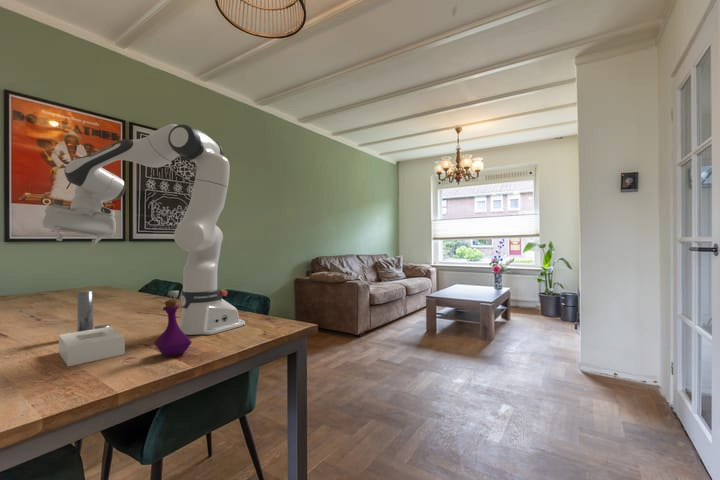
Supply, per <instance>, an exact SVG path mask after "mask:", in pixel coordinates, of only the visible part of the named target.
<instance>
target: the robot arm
mask: <svg viewBox="0 0 720 480" xmlns="http://www.w3.org/2000/svg"><path fill="white" fill-rule="evenodd" d="M179 156H181V157H183V158H185V159H187V160H189V161H190V162H192V163H195V166H196V173H195V177H194V182H193V187H192V192H191V197H190V201H189V203H188V206H187V208H186V210H185V212H184V215H183V217H182V220H181V221H180V223H179V225H177V226H176V228H175V229H174V232H173V240H174V241H175V244H176V245H177V246H178V247H179V248H181V249H182V250H184V251H186V252H188V255H187V258H186V263H185V264H184V267H183V271H182V273H183V274H182V277H183V278H182V279H183V281H182V282H183V285H182V287H183V289H182V291H181V297H180V299H181V301H180V302H181V307H182V308H181V317H180V322H179V325H178V326H179V328H180V329H181V330H182V332H183V333H184V334H185V335H186V336H188V335H190V336H191V335H194V336H195V335H215V334H218V333H222V332H225V331H229V330H234V329H235V328H240V327H244V326H245V325H246V322H245V320H243V319H241V318H240V315H239V312H238V309H237V308H236V307H235V306H234V305H232V304H231V303H229V302H228V301H226V300H225V299H223V296H224V297H227V290H225V289H222V290H221V289H218V268H219V267H218V266H219V261H220V254H221V247H222V243H223V240H224V233H223V231H222V229H221V228H220V227H219V226H218V225H217V222H218V220H219V218H220V215H221V214H222V211H223V210H224V208H225V203H226V198H227V194H228V187H229V184H230V183H229V182H230V176H231V175H230V171H231V170H230V168H231V167H230V162H229V160H228V158H226V157H225V152H224V149H223V147H222V146H221V145H220V144H219V143H218V142H217V141H216V140H214V139H212V138H211V137H210V136H208V134H206V133H204V132H203V131H200V130H199V129H197V128H195V127H193V126H191V125H188V124H176V123H169V124H167V125H164V126H163V127H160V128H158V129H156V130H154V131H153V132H151V133H149V134H148V135H147V136H145V137H141V138H138V139H137V138H136V139H127V138H125V139H121V140H118V141H116V142H114V143H111V144H109V145H107V146H104V147H103V148H100V149H98V150H96V151H94V152H91V153H90V154H87V155H84V156H80V157H76V158H74V159H72V160H70V162H68V163H67V164H66V166H65V167H64V169H63V171H64V172H63V173H64V176H65V177H66V178H65V179H66V180H67V181H68V183H69V184H73V185H75V186H76V187H75V189H74V196H73V198H72V200H71V203H70V206H66V205H60V204H50V205H47V206H46V208H45V215H44V216H43V220H42V226H43V228H45V229H50V230H54V234H55V236H56V240H55V241H59V242H62V241H63V238H64V234H61V231H62V232H63V231H64V232H70V233H77V234H83V235H89V236H95V237H96V238H95V239H94V238H92V239H91V243H90V244H91V246H94V247H96V246H97V244H98V242H100V241H101V240H103V239H102V238H106V239H107V238H109V239H111V238H113V237H115V235H116V228H117V222H116V219H115V215H116V214H115V211H114V210H112V209H110V208H108V207H106V206H104V205H102V204H103V203H108V202H109V203H110V202H112V201H113V202H114V201H117V200H120V199H121V198H122V197H123V196H124V194H125V193H126V182H125V180H124V179H122V178H120V177H119V176H118V175H116V174H115V173H112V172H111V171H108V170H107V169H106V168H103V167H105V166H108V165H109V164H111V163H114V162H117V161H126V162H127V161H128V162H131V163H132V162H133V163H134V164H138V165H142V166H144V167H147V168H154V169H156V168H162V167H164V166H166V165H168V164H169V163H171V162H172V161H174V160H175V159H176V158H178V157H179ZM243 325H244V326H243Z"/></svg>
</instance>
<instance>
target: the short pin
mask: <svg viewBox="0 0 720 480" xmlns="http://www.w3.org/2000/svg"><path fill="white" fill-rule="evenodd" d="M105 327H112V326H111V324H102V325H101V324H100V325H97V326H95V327H94V329H99V328H105Z"/></svg>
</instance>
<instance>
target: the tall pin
mask: <svg viewBox="0 0 720 480" xmlns="http://www.w3.org/2000/svg"><path fill="white" fill-rule="evenodd" d="M76 293H77V296H76V297H77V299H76V300H77V306H76V307H77V308H76V309H77V310H76V311H77V315H76V317H77V318H76V319H77V320H76V326H77V328H76V329H77V331H76V332H80V331H86V330H92V329H94V291H93V290H80V291H77V292H76Z"/></svg>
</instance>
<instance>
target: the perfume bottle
mask: <svg viewBox="0 0 720 480" xmlns="http://www.w3.org/2000/svg"><path fill="white" fill-rule="evenodd" d="M179 292H180V290H170V291H167V295H168V296H169V298H170V299H167V300H165V302H164V304H165V305H164V307H163V308H162V310H163V311H165V313H166V314H167V319H168V320H167V326H166V328H165V330H164V331H163V332H162V333H161V334H160V336H159V337H158V338H157V339H156V340H155V341H154V343H153V345H154V346H155V347H156V348H157V349H158V351H159V353H161V354H162V356H164V357H165V358H173V357H177V356H181V355H184V353H185V352H187V350H188V348H189V347H190V346H191V345H192V341H191V339H190V338H189V337H188V335H186V334H184V333H183V332H182V330H181V329H180V328H179V326H180V325H179V324H178V322H177V321H178V320H177V317H176V315H177V313H176V312H177V311H178V309H180V306H179V305H177V303H178V302H177V301H178V300H177V298H178V297H179V294H180V293H179ZM172 297H173V299H172Z"/></svg>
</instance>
